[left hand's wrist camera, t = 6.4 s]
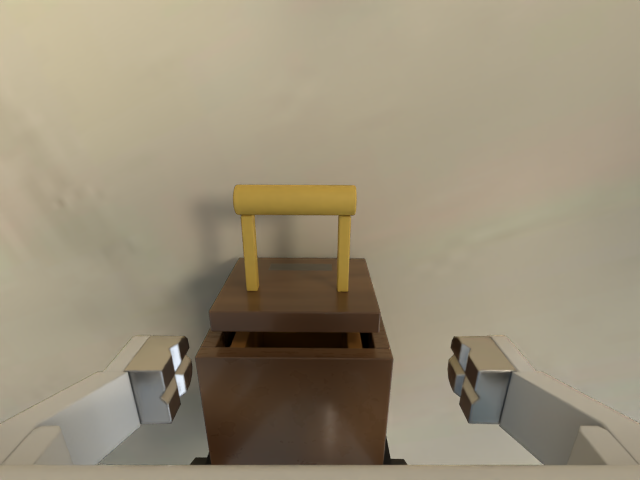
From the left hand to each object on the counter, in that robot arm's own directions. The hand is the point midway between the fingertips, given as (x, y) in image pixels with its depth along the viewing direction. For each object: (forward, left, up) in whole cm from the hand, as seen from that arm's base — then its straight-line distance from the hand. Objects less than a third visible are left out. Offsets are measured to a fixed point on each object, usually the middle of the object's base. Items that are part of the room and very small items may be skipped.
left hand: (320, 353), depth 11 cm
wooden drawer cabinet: (+11, -1, -13) cm, 17 cm away
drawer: (+6, -1, -12) cm, 14 cm away
